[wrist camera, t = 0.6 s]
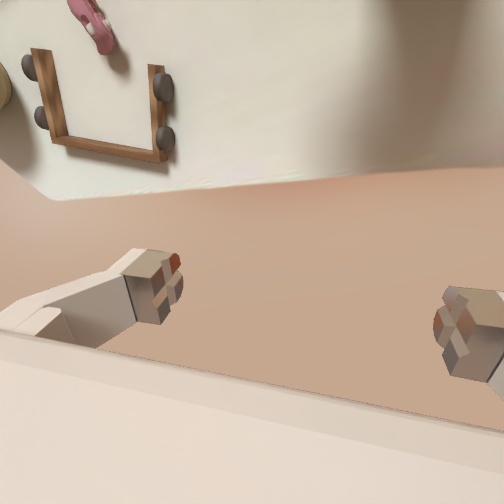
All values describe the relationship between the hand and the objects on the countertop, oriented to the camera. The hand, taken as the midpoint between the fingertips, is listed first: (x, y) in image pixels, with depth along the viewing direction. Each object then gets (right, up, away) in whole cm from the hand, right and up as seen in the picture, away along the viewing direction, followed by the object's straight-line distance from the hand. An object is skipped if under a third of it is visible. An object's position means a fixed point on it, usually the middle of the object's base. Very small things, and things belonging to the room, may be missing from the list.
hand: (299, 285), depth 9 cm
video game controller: (-26, +38, +38) cm, 60 cm away
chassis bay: (-28, +28, +44) cm, 59 cm away
